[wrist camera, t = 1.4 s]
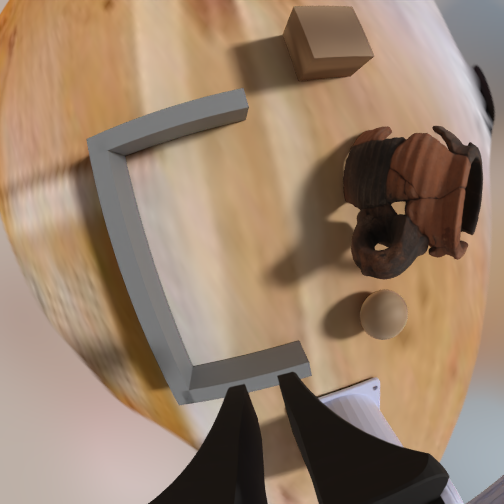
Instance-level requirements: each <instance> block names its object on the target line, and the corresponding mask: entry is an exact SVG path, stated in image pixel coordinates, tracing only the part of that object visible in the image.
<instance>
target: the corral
mask: <svg viewBox="0 0 504 504" xmlns="http://www.w3.org/2000/svg"><path fill="white" fill-rule="evenodd" d="M248 108H249V106H248V103H247V99H246V96H245V92H244V89H243V88H241V89H237V90H232V91H228V92H223V93H219V94H215V95H211V96H207V97H203V98H200V99H196V100H192V101H189V102H185V103H182V104H179V105H175V106H172V107H169V108H166V109H163V110H160V111H157V112H154V113H151V114H148V115H145V116H142V117H139V118H137V119H134V120H131V121H129V122H126V123H123V124H121V125H118V126H116V127H113V128H111V129H109V130H106V131H104V132H102V133H99V134H97V135H95V136H92V137H90V138H88V139H87V145H88V150H89V155H90V160H91V165H92V170H93V175H94V179H95V184H96V188H97V192H98V196H99V200H100V204H101V208H102V212H103V215H104V219H105V223H106V226H107V230H108V233H109V237H110V240H111V243H112V246H113V250H114V253H115V256H116V259H117V262H118V265H119V268H120V271H121V274H122V277H123V280H124V282H125V285H126V288H127V291H128V293H129V296H130V299H131V301H132V304H133V306H134V309H135V312H136V314H137V317H138V319H139V322H140V324H141V326H142V329H143V331H144V333H145V336H146V338H147V340H148V343H149V345H150V347H151V349H152V352H153V354H154V356H155V358H156V360H157V363H158V365H159V367H160V369H161V371H162V373H163V375H164V377H165V379H166V381H167V383H168V385H169V387H170V389H171V391H172V393H173V395H174V397H175V399H176V401H177V402H178V404H179V405H184V404H191V403H197V402H203V401H209V400H214V399H219V398H225V395H226V392H227V390H228V388H229V387H232V386H237V385H242V384H245V386H246V388H247V391H248V392H253V391H257V390H261V389H265V388H269V387H273V386H277V385H279V381H278V377H277V376H278V375H282V374H286V373H289V372H295V373H296V374H297V375H298V377H299V378H300V379H302V378H305V377H309V376H312V374H311V369H310V364H309V361H308V359H307V356H306V354H305V352H304V350H303V348H302V346H301V343H300V341H296V342H292V343H289V344H285V345H282V346H278V347H274V348H271V349H267V350H263V351H259V352H255V353H251V354H247V355H243V356H239V357H235V358H230V359H226V360H221V361H217V362H212V363H207V364H203V365H198V366H193V365H192V363H191V361H190V358H189V356H188V354H187V351H186V349H185V346H184V344H183V341H182V339H181V336H180V334H179V331H178V329H177V326H176V323H175V321H174V318H173V316H172V313H171V310H170V307H169V305H168V302H167V299H166V296H165V294H164V291H163V288H162V285H161V282H160V279H159V276H158V273H157V270H156V267H155V264H154V261H153V258H152V255H151V252H150V248H149V245H148V242H147V238H146V235H145V232H144V228H143V225H142V221H141V218H140V214H139V211H138V207H137V203H136V199H135V196H134V192H133V188H132V184H131V180H130V176H129V171H128V167H127V163H126V158H125V156H126V155H128V154H131V153H134V152H137V151H139V150H142V149H145V148H148V147H151V146H154V145H157V144H160V143H163V142H166V141H169V140H172V139H176V138H179V137H182V136H186V135H189V134H192V133H196V132H200V131H203V130H207V129H211V128H214V127H218V126H222V125H226V124H230V123H234V122H239V121H243V120H246V116H247V112H248Z"/></svg>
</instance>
